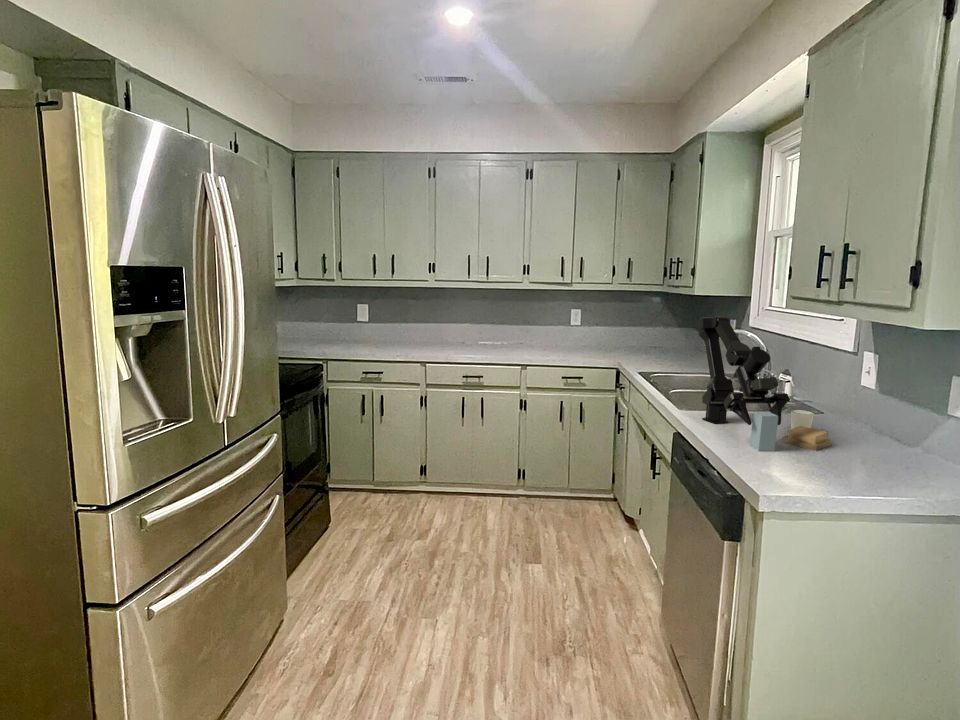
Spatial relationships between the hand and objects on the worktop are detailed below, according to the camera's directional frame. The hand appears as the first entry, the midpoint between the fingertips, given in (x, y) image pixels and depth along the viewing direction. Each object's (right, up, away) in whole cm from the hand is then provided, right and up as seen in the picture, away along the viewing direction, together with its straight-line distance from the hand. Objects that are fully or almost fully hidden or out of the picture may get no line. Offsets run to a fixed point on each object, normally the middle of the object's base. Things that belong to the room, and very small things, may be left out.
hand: (764, 424), depth 173 cm
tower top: (+17, -5, +7) cm, 19 cm away
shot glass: (+22, -5, +20) cm, 31 cm away
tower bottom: (+17, -8, +8) cm, 20 cm away
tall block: (0, -8, +1) cm, 8 cm away
